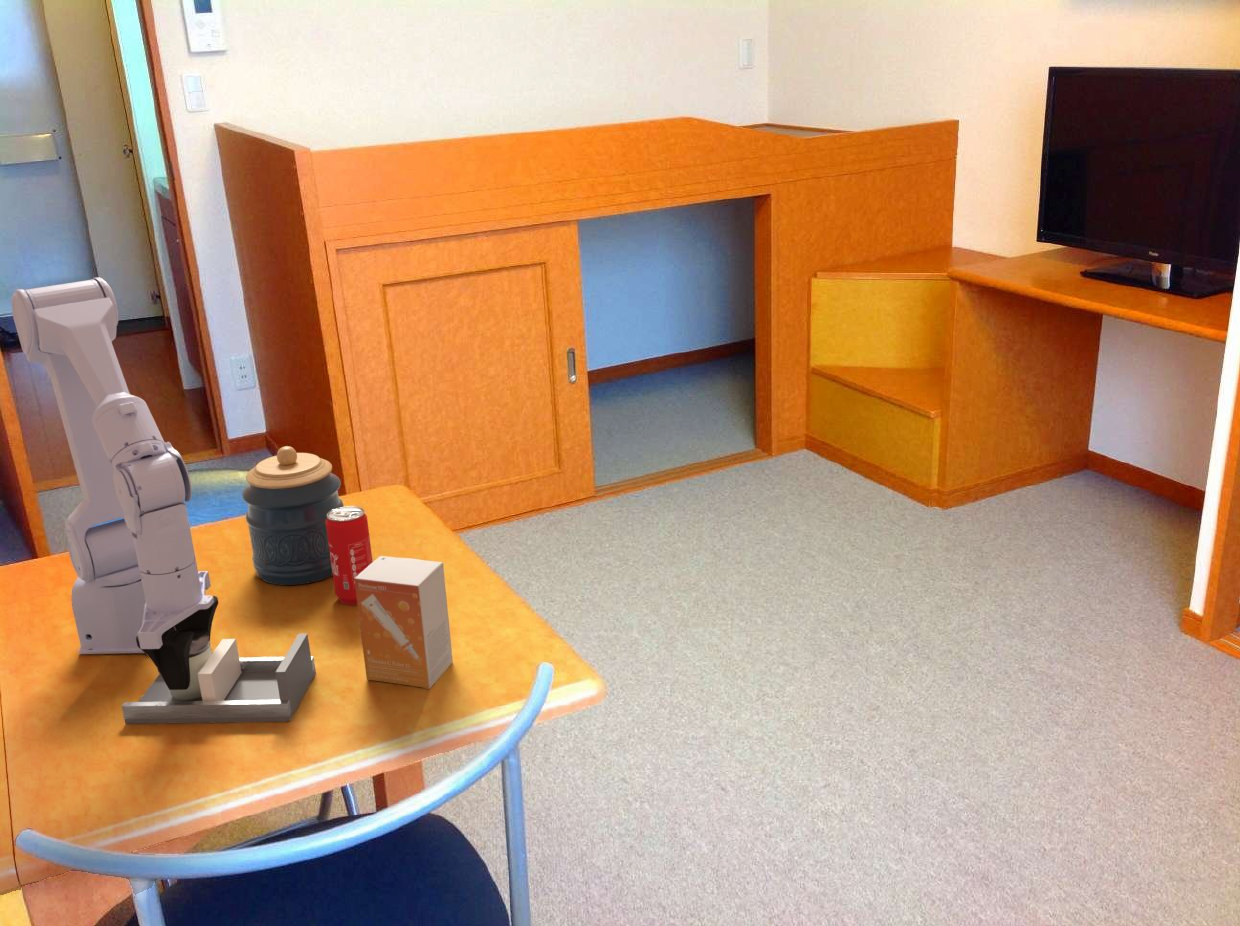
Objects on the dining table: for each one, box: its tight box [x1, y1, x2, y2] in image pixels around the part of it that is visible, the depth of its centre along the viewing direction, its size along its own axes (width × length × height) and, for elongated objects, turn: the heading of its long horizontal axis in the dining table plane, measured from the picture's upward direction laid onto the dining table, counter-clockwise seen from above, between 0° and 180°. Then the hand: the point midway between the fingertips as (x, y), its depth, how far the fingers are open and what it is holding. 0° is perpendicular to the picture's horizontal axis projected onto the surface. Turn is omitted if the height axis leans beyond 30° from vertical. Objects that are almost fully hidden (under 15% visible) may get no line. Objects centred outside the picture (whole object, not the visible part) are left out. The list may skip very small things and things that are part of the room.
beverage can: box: [326, 505, 373, 606], centre depth 150 cm, size 5×5×12 cm
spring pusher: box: [198, 638, 242, 701], centre depth 129 cm, size 2×8×4 cm, turn 178°
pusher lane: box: [121, 632, 317, 725], centre depth 129 cm, size 18×10×6 cm, turn 88°
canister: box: [241, 445, 345, 586], centre depth 158 cm, size 13×13×18 cm
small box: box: [354, 555, 453, 690], centre depth 131 cm, size 8×6×13 cm
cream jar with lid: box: [170, 629, 213, 700], centre depth 128 cm, size 5×5×6 cm
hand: (189, 674), depth 129 cm, fingers closed on cream jar with lid, 5 cm apart
